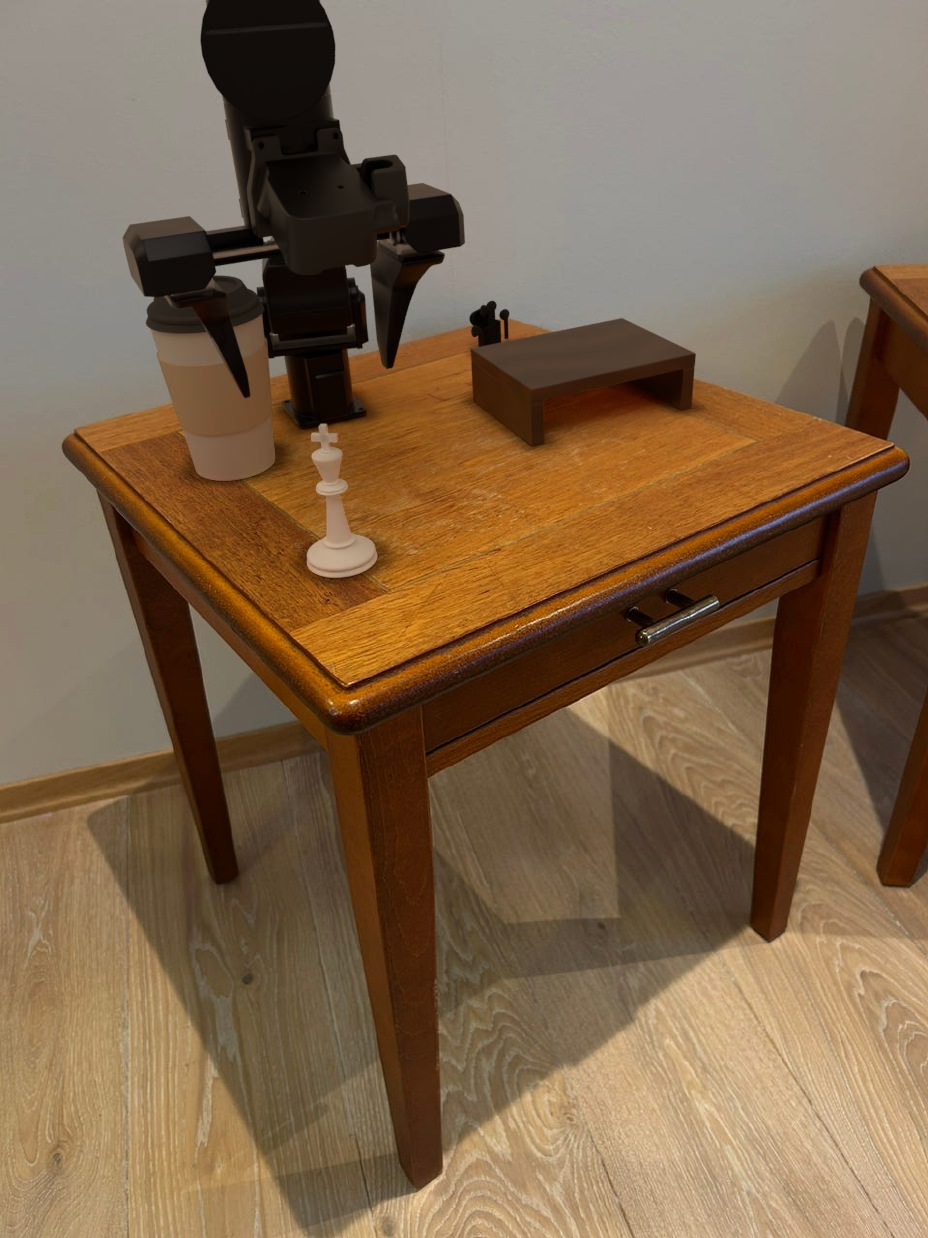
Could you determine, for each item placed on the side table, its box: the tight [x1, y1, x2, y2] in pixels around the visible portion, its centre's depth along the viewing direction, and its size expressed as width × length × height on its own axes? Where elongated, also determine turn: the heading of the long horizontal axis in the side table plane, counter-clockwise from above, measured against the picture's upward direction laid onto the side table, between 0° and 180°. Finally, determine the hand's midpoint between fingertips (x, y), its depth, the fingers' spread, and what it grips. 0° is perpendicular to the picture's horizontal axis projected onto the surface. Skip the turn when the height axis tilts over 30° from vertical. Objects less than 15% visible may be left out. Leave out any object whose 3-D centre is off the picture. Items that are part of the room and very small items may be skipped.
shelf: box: [470, 317, 697, 447], centre depth 87 cm, size 12×16×5 cm
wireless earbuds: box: [468, 300, 510, 347], centre depth 100 cm, size 7×2×5 cm, turn 147°
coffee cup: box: [145, 274, 276, 482], centre depth 78 cm, size 9×9×15 cm
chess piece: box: [306, 423, 378, 579], centre depth 65 cm, size 5×5×10 cm
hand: (318, 381), depth 60 cm, fingers open, 9 cm apart
